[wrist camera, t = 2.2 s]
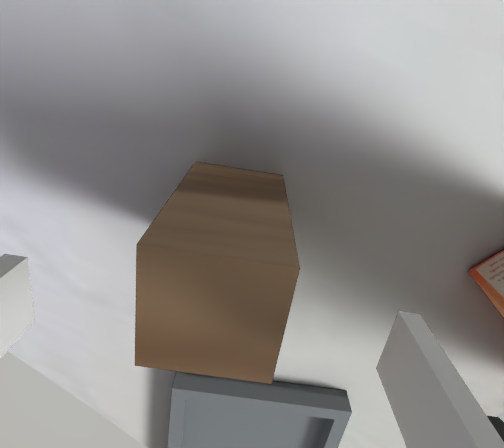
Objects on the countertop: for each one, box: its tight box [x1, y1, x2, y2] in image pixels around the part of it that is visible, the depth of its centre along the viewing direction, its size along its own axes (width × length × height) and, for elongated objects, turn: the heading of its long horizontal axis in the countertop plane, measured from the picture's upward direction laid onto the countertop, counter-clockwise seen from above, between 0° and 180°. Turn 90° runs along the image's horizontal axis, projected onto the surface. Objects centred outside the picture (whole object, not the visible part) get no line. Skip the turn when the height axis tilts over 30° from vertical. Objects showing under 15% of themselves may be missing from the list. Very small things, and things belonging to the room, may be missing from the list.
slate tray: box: [167, 371, 352, 448], centre depth 28 cm, size 13×13×2 cm
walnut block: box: [135, 162, 300, 384], centre depth 16 cm, size 5×5×10 cm
